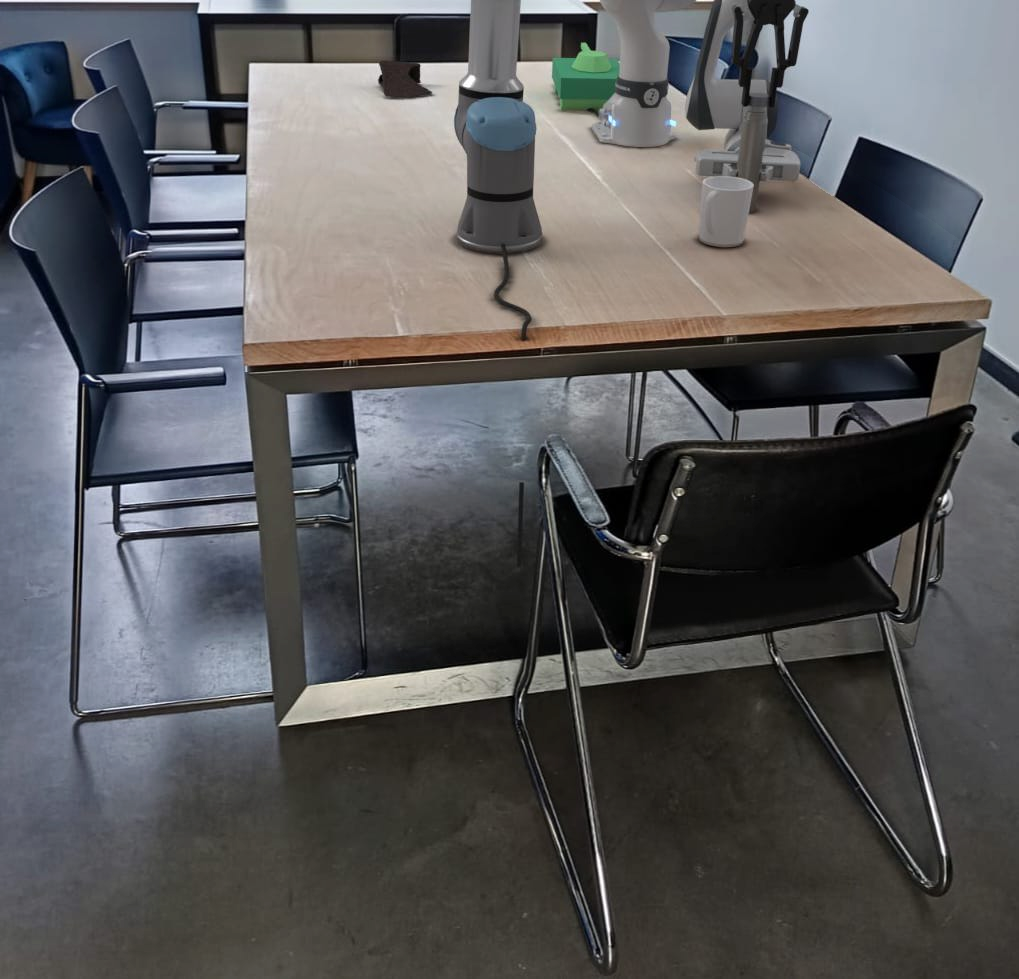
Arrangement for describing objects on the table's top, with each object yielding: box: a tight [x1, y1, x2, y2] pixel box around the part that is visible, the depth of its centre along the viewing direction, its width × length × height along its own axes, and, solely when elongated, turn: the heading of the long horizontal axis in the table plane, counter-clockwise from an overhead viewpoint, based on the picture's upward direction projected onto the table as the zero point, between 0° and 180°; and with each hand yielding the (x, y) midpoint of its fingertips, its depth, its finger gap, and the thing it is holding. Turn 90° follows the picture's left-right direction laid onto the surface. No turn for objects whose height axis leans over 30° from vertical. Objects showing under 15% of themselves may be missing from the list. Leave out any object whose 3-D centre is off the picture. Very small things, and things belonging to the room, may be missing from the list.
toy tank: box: [551, 42, 620, 111], centre depth 293 cm, size 18×12×35 cm
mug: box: [698, 176, 754, 248], centre depth 195 cm, size 11×9×10 cm
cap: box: [748, 93, 770, 107], centre depth 204 cm, size 4×4×2 cm
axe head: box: [377, 59, 433, 99], centre depth 299 cm, size 18×8×15 cm
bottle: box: [736, 106, 768, 214], centre depth 209 cm, size 5×5×21 cm
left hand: (757, 105), depth 204 cm, fingers closed on cap, 4 cm apart
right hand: (748, 176), depth 210 cm, fingers closed on bottle, 4 cm apart
